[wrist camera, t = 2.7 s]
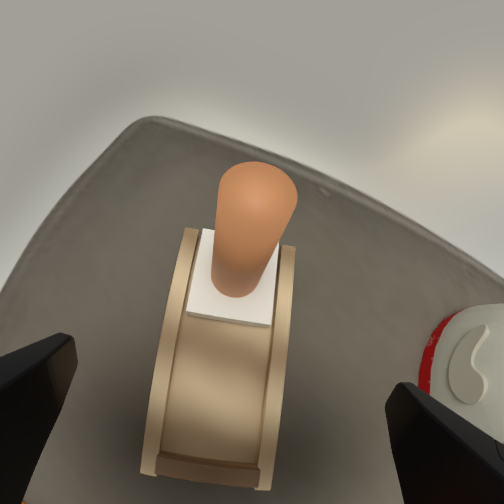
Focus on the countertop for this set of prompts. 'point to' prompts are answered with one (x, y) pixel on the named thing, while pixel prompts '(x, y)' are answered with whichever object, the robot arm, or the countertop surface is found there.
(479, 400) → the kitchen timer
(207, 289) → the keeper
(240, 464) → the wooden tray
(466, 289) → the countertop surface
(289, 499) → the countertop surface
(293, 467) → the countertop surface
